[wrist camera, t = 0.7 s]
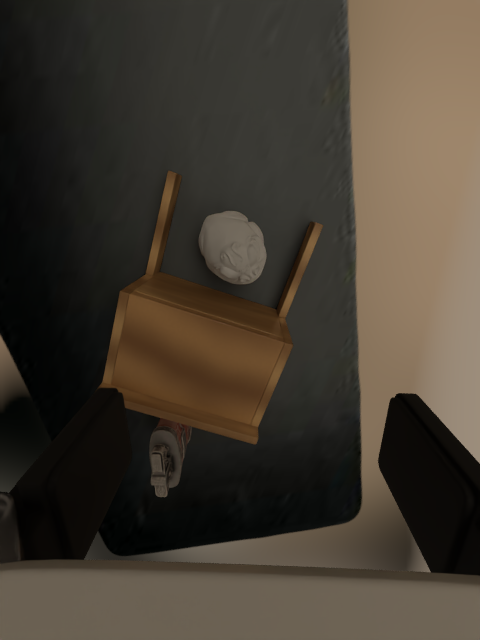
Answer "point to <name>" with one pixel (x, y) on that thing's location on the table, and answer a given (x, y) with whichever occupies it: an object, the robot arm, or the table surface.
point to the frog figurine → (232, 247)
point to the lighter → (167, 454)
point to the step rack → (199, 343)
